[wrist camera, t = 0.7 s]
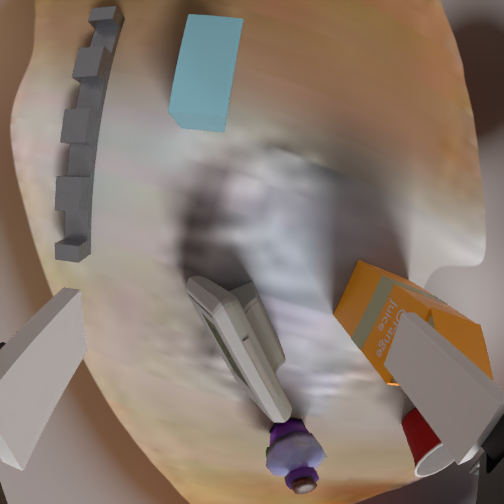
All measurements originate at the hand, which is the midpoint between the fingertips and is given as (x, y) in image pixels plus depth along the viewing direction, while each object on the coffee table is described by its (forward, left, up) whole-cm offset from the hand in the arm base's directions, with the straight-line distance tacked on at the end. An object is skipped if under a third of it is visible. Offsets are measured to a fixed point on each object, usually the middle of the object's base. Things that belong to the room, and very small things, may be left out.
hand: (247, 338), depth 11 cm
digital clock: (+11, +2, -23) cm, 25 cm away
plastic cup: (+30, +37, -23) cm, 53 cm away
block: (-15, -4, -22) cm, 27 cm away
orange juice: (+6, +19, -23) cm, 30 cm away
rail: (-10, -17, -22) cm, 30 cm away
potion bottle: (+29, +12, -23) cm, 39 cm away
